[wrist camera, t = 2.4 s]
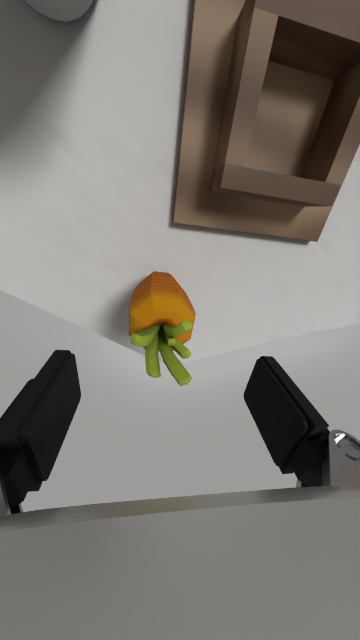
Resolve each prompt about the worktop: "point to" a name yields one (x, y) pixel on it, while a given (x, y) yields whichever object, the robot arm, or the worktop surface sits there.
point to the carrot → (162, 323)
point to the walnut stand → (268, 114)
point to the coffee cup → (61, 8)
